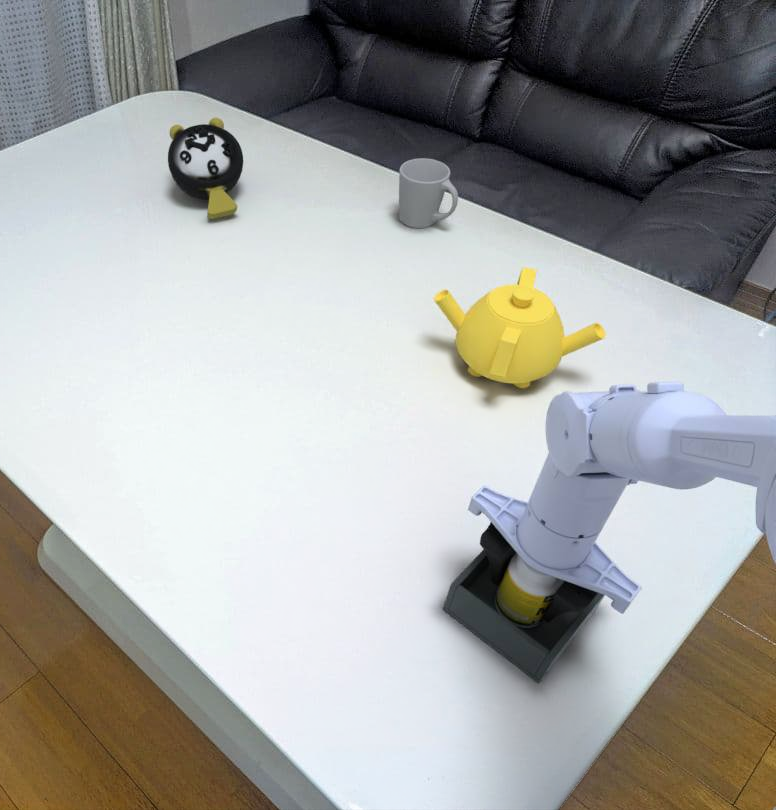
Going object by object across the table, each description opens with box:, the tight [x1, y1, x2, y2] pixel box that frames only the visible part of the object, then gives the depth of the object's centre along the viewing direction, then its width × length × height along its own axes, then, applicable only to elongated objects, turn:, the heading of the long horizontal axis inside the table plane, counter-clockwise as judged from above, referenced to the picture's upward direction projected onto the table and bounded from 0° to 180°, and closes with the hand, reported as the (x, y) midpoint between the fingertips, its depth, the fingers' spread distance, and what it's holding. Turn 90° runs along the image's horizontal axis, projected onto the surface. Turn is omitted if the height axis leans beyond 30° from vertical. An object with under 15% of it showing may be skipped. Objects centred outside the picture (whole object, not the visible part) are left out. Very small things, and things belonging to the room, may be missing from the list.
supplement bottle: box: [495, 553, 564, 628], centre depth 66 cm, size 5×5×8 cm
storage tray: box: [442, 549, 606, 684], centre depth 68 cm, size 10×10×5 cm
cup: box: [398, 157, 459, 229], centre depth 114 cm, size 8×10×8 cm
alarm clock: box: [167, 117, 244, 220], centre depth 121 cm, size 12×15×15 cm
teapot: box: [433, 266, 606, 389], centre depth 90 cm, size 20×18×11 cm
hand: (525, 595), depth 68 cm, fingers closed on supplement bottle, 5 cm apart
